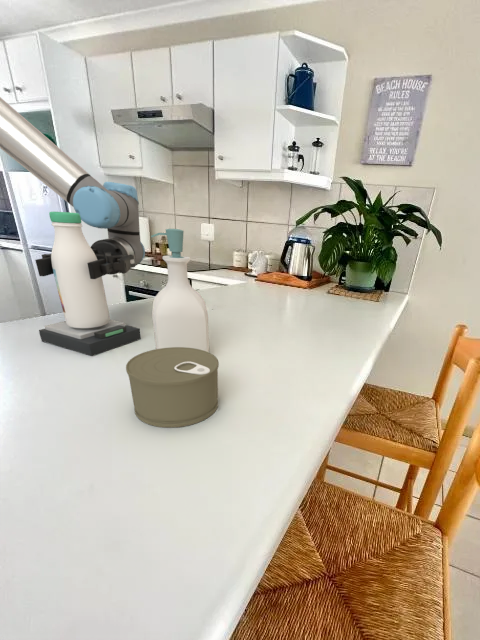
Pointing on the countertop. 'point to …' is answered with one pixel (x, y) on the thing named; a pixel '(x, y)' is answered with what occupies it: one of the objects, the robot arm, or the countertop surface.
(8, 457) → the countertop surface
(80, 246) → the milk bottle
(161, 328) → the soap bottle
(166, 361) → the can
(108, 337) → the kitchen scale
